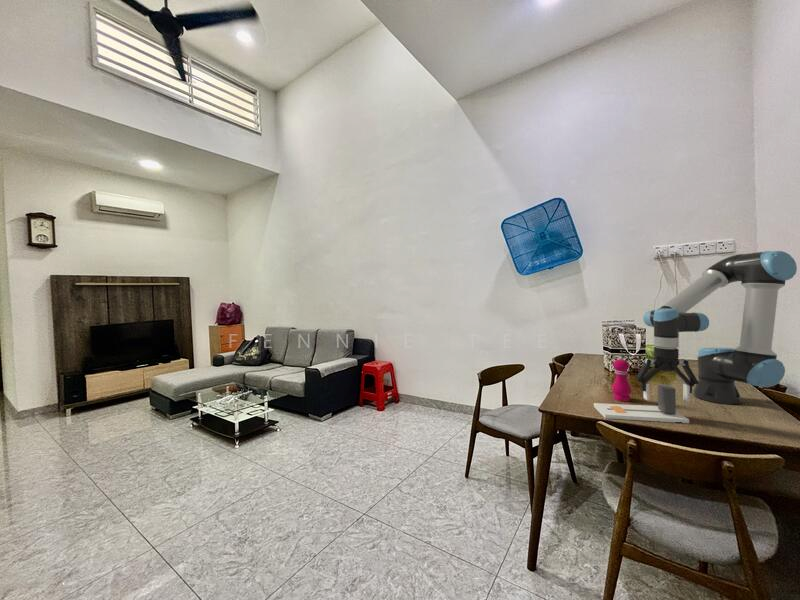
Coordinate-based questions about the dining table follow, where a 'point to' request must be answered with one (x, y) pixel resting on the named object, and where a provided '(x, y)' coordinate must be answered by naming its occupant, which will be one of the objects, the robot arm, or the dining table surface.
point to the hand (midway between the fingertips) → (665, 400)
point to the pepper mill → (621, 380)
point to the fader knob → (666, 399)
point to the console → (638, 413)
